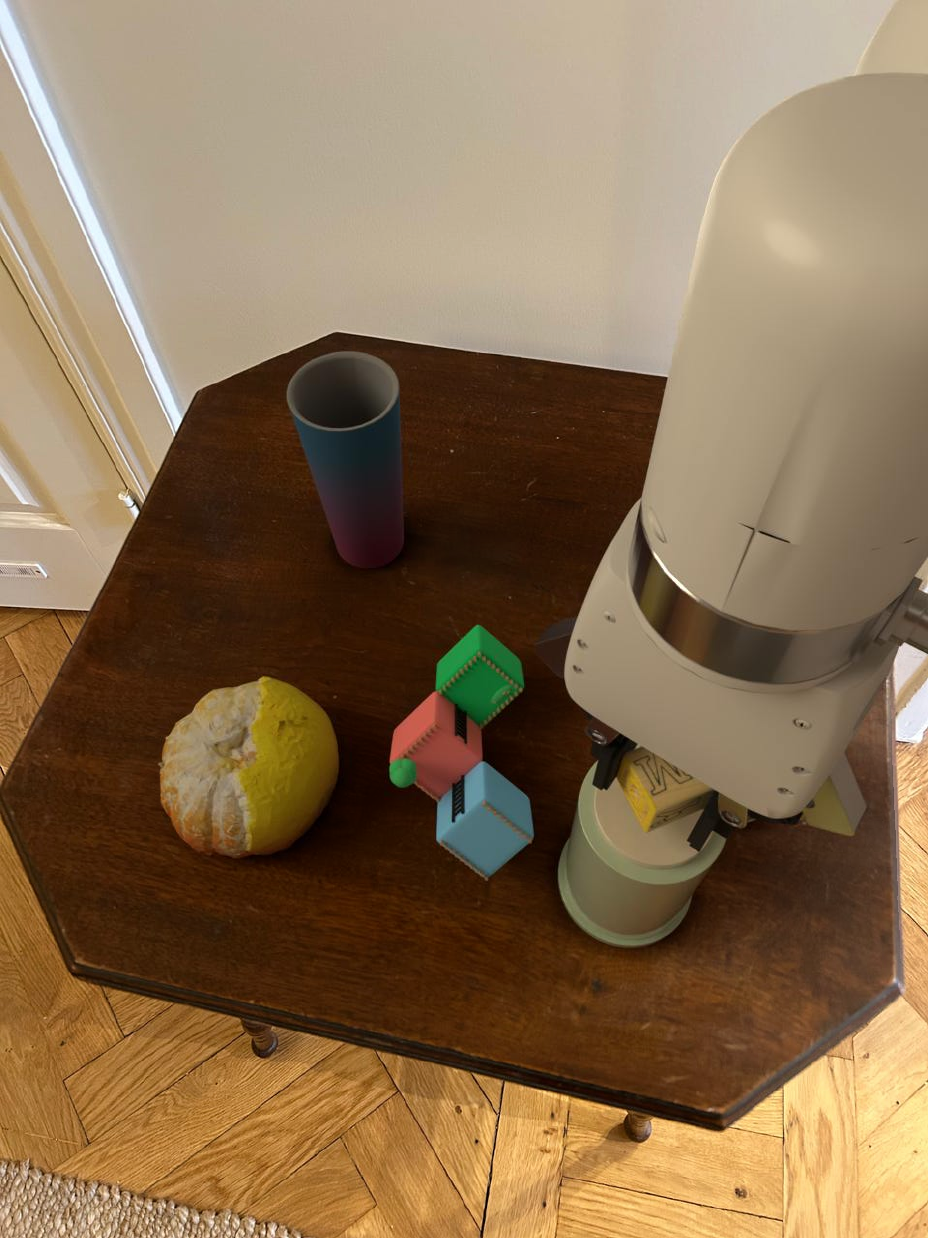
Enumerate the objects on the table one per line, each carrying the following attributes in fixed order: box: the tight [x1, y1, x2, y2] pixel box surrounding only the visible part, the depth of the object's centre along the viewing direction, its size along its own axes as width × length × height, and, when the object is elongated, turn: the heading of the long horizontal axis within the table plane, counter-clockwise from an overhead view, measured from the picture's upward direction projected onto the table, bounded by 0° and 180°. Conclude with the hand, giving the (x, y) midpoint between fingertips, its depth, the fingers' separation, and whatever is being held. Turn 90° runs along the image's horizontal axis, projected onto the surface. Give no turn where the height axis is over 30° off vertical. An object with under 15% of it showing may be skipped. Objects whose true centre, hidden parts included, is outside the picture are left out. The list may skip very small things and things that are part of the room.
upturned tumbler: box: [557, 744, 727, 949], centre depth 48 cm, size 8×8×12 cm
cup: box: [286, 351, 405, 569], centre depth 61 cm, size 7×7×15 cm
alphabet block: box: [616, 746, 715, 833], centre depth 41 cm, size 3×3×3 cm
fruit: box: [157, 675, 340, 859], centre depth 55 cm, size 11×10×8 cm
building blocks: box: [388, 624, 535, 882], centre depth 54 cm, size 8×8×12 cm
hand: (661, 791), depth 42 cm, fingers closed on alphabet block, 4 cm apart
